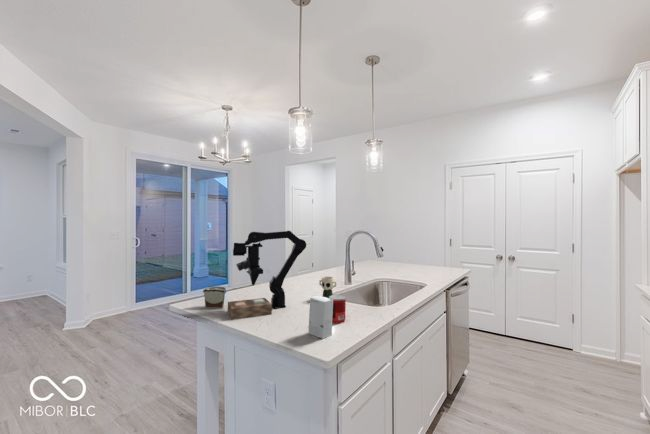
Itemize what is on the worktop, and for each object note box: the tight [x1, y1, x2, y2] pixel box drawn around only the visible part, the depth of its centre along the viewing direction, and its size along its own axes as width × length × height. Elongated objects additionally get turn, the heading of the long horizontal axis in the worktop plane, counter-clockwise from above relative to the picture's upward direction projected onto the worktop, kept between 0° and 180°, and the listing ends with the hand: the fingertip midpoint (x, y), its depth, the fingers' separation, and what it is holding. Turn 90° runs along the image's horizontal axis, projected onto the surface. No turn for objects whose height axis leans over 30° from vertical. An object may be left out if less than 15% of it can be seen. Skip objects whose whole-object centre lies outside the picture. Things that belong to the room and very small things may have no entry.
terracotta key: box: [234, 302, 246, 306], centre depth 147 cm, size 5×5×4 cm
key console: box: [227, 297, 273, 320], centre depth 149 cm, size 19×13×5 cm
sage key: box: [252, 298, 265, 304], centre depth 151 cm, size 5×5×4 cm
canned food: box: [329, 294, 347, 324], centre depth 138 cm, size 8×8×11 cm
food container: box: [202, 286, 227, 309], centre depth 160 cm, size 12×6×10 cm, turn 84°
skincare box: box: [308, 295, 333, 340], centre depth 122 cm, size 8×6×15 cm
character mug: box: [318, 276, 337, 298], centre depth 174 cm, size 11×7×13 cm, turn 64°
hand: (253, 285), depth 157 cm, fingers closed
